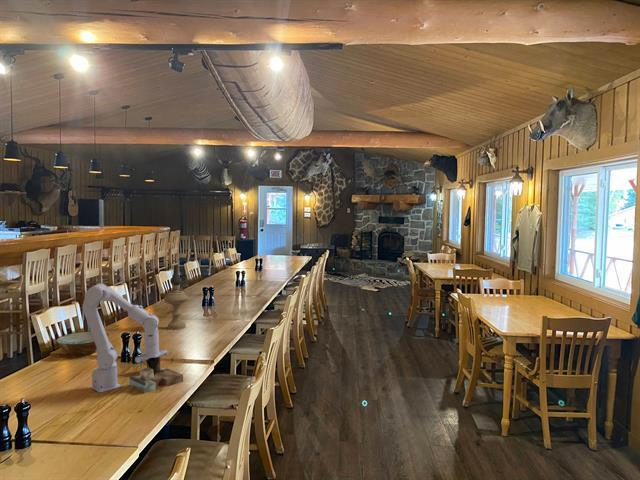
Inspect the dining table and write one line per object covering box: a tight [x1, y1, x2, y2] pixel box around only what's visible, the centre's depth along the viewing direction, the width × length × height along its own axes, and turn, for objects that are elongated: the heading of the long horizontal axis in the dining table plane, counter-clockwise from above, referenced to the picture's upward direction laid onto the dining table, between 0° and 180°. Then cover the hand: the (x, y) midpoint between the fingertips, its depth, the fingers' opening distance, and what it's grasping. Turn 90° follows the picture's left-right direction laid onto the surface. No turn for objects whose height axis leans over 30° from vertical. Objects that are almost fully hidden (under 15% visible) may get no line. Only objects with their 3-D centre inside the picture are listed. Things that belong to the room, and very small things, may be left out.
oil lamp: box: [163, 264, 189, 331], centre depth 306 cm, size 15×15×40 cm
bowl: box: [55, 331, 110, 356], centre depth 254 cm, size 25×25×8 cm
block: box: [139, 366, 154, 381], centre depth 205 cm, size 4×4×4 cm
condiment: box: [146, 356, 167, 374], centre depth 224 cm, size 7×8×12 cm
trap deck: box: [128, 367, 184, 394], centre depth 208 cm, size 18×13×4 cm
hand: (152, 374), depth 207 cm, fingers closed
